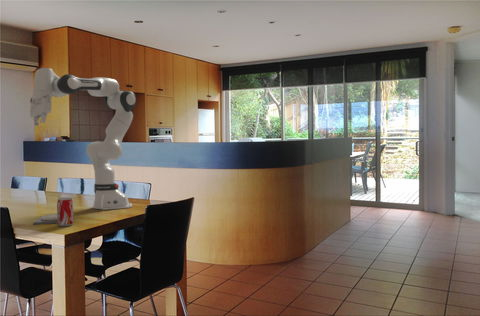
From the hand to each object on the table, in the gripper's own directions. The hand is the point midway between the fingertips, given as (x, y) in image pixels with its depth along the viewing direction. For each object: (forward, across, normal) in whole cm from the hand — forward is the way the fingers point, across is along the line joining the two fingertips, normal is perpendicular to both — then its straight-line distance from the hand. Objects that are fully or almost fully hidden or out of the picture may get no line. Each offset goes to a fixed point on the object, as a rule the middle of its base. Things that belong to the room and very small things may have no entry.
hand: (39, 124), depth 213 cm
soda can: (+51, -16, -11) cm, 54 cm away
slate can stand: (+48, 0, -11) cm, 49 cm away
